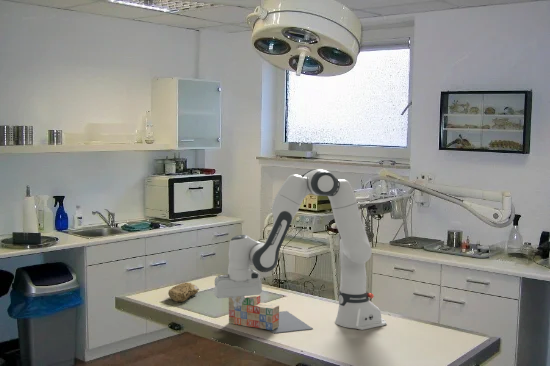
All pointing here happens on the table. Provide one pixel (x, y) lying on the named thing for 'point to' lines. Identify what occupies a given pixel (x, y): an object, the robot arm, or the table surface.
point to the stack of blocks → (254, 313)
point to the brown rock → (182, 291)
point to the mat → (290, 323)
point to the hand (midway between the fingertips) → (237, 306)
